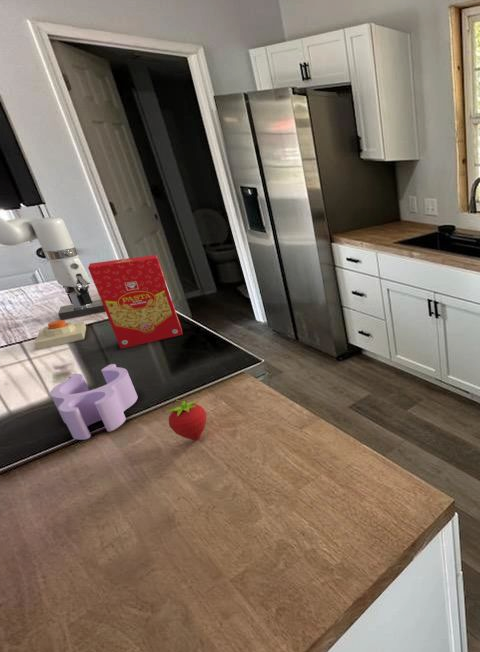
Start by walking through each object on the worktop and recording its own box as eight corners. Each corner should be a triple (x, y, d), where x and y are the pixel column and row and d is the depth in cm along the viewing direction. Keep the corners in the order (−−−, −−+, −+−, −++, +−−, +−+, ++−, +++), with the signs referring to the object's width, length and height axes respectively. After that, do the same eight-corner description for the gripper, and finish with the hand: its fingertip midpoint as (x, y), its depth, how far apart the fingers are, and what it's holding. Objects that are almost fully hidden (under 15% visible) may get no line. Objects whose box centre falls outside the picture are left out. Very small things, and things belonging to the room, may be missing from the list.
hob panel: (60, 320, 142) (57, 313, 141) (63, 312, 148) (60, 306, 147) (107, 311, 149) (105, 304, 148) (108, 304, 155) (105, 298, 154)
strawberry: (180, 456, 79) (164, 413, 75) (174, 438, 84) (158, 397, 80) (217, 442, 83) (202, 400, 79) (209, 425, 88) (195, 385, 84)
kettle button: (66, 327, 127) (63, 322, 126) (49, 330, 125) (47, 325, 124) (67, 324, 130) (64, 319, 129) (50, 327, 127) (48, 322, 127)
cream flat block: (84, 339, 127) (79, 327, 126) (37, 349, 121) (31, 337, 120) (86, 327, 136) (81, 316, 134) (42, 336, 130) (37, 324, 128)
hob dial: (94, 304, 149) (88, 290, 147) (79, 308, 145) (73, 294, 143) (86, 302, 150) (80, 289, 148) (71, 307, 146) (65, 293, 144)
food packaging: (120, 348, 121) (87, 267, 112) (121, 342, 125) (90, 263, 116) (182, 334, 130) (157, 258, 121) (181, 329, 134) (156, 254, 125)
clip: (138, 422, 89) (126, 395, 86) (56, 448, 81) (41, 420, 79) (137, 384, 103) (127, 360, 100) (67, 404, 95) (54, 378, 93)
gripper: (90, 253, 141) (109, 302, 148) (60, 249, 146) (80, 297, 153) (62, 258, 135) (84, 310, 141) (32, 255, 140) (54, 304, 147)
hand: (82, 303), depth 147 cm, fingers closed on hob dial, 4 cm apart
